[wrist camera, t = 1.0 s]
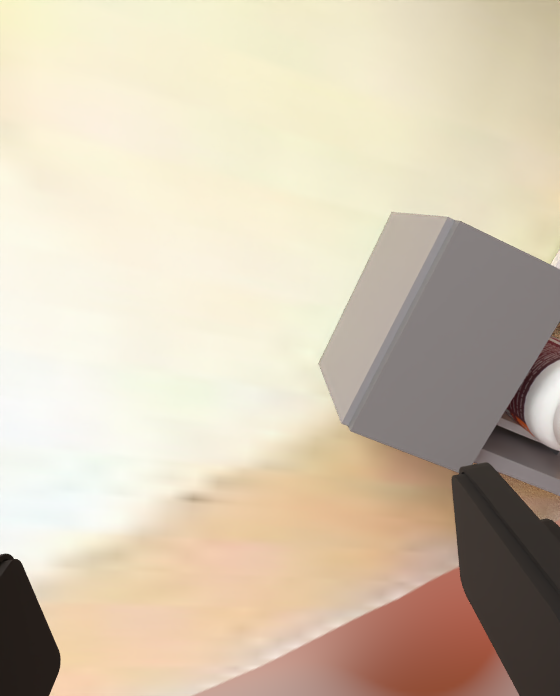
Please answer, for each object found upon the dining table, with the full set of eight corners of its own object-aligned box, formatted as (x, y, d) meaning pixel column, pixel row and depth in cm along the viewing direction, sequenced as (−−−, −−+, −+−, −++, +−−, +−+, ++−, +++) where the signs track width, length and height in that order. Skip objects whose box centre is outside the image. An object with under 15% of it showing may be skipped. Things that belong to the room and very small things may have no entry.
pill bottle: (462, 396, 37) (547, 477, 26) (482, 319, 35) (582, 371, 24) (538, 404, 38) (652, 486, 27) (561, 328, 36) (693, 383, 25)
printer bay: (391, 212, 33) (452, 217, 23) (626, 323, 36) (772, 372, 26) (318, 363, 36) (343, 428, 25) (541, 454, 39) (642, 543, 29)
